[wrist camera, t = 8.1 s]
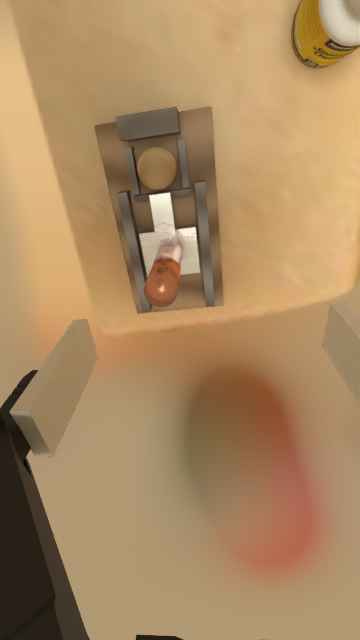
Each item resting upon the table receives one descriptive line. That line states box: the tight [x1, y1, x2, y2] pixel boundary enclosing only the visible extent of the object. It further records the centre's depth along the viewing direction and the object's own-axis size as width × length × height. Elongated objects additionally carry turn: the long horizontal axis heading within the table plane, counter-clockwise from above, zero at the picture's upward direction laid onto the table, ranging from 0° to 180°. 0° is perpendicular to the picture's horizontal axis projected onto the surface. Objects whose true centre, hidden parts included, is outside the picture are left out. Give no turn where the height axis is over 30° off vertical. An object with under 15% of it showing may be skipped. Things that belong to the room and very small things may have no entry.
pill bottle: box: [292, 0, 360, 68], centre depth 24 cm, size 6×6×12 cm
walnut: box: [137, 146, 177, 190], centre depth 33 cm, size 4×4×4 cm
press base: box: [95, 107, 224, 313], centre depth 37 cm, size 24×13×6 cm, turn 7°
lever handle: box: [139, 191, 200, 307], centre depth 33 cm, size 10×7×13 cm
